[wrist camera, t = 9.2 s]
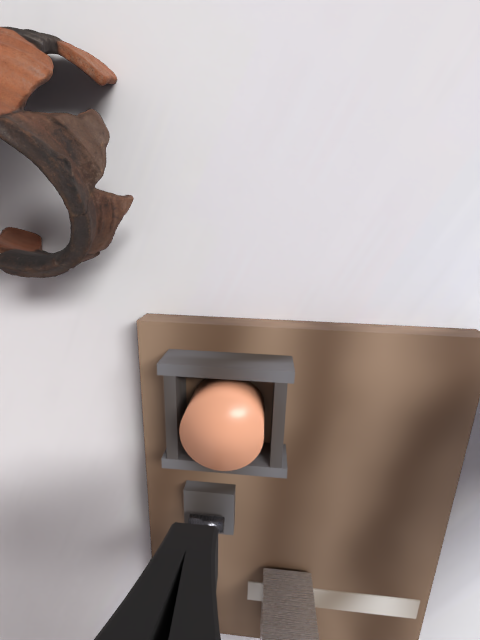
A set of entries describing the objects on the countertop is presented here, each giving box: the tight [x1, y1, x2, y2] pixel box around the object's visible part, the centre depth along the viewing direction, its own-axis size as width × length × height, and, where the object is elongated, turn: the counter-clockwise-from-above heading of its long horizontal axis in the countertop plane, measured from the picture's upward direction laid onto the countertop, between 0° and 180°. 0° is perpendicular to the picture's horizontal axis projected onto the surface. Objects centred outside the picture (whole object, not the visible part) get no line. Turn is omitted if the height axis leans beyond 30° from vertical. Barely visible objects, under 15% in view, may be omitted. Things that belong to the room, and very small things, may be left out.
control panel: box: [137, 314, 480, 640], centre depth 20 cm, size 18×23×4 cm
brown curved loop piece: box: [0, 27, 133, 278], centre depth 15 cm, size 12×10×8 cm
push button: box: [179, 378, 265, 471], centre depth 17 cm, size 4×4×2 cm
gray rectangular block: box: [260, 568, 319, 640], centre depth 19 cm, size 3×5×4 cm, turn 179°
